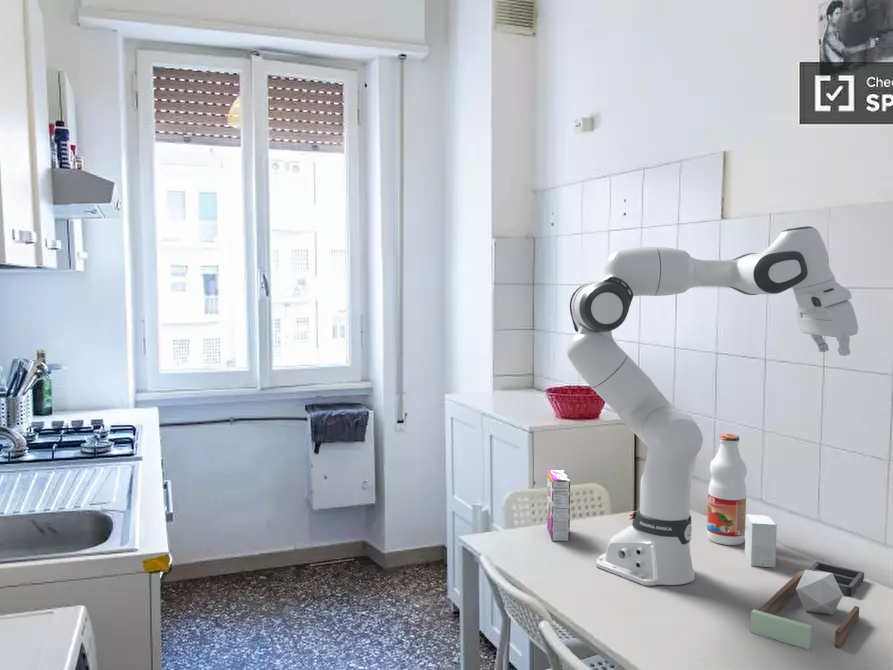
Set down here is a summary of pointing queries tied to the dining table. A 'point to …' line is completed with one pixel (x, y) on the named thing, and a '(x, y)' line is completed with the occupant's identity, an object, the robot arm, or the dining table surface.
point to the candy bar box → (558, 505)
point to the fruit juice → (727, 494)
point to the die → (819, 592)
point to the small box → (760, 540)
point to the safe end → (781, 629)
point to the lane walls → (790, 590)
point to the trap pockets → (842, 577)
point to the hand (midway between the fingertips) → (834, 353)
